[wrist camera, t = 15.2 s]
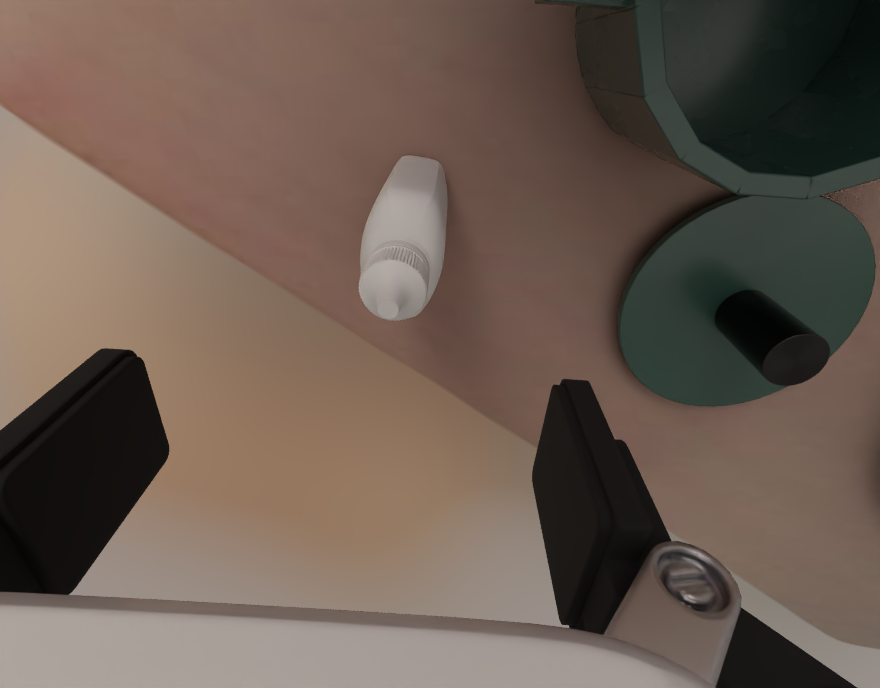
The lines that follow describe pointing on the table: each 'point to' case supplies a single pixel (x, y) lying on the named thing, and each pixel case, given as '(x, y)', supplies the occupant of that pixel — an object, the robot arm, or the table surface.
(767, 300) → the lid
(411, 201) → the eye dropper bottle
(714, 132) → the pot
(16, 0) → the table surface
